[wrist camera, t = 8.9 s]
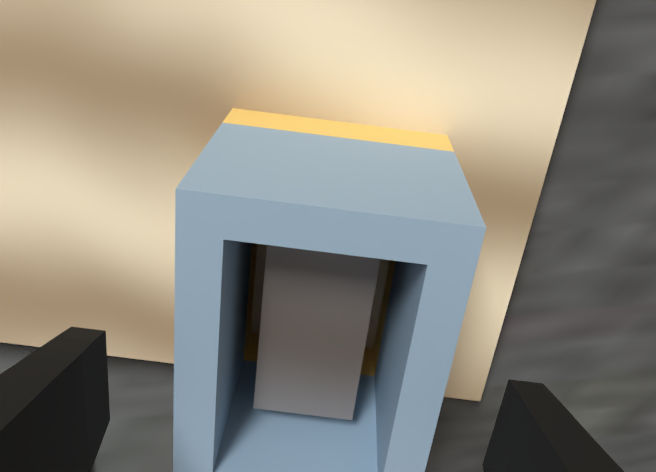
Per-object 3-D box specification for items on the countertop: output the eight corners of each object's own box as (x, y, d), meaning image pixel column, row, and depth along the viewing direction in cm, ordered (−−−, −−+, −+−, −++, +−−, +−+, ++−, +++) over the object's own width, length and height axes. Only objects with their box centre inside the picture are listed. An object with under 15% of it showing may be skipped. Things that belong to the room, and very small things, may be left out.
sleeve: (447, 135, 15) (486, 227, 10) (397, 374, 18) (410, 526, 13) (232, 108, 14) (175, 188, 10) (220, 353, 18) (172, 499, 13)
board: (473, 374, 19) (505, 501, 15) (-190, 292, 19) (-349, 398, 15) (623, -170, 13) (753, -219, 9) (-362, -301, 13) (-725, -417, 8)
